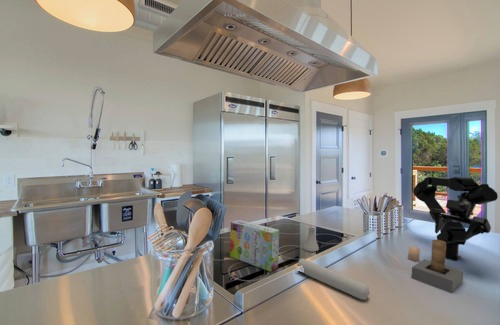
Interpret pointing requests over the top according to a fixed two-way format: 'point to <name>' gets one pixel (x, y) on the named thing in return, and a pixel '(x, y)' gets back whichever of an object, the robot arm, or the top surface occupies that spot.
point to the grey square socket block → (437, 276)
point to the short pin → (413, 253)
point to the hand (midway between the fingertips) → (449, 236)
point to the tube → (335, 279)
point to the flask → (311, 241)
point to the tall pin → (438, 256)
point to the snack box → (254, 244)
